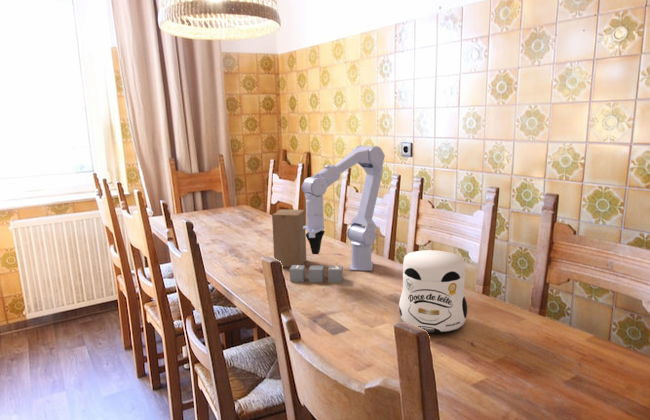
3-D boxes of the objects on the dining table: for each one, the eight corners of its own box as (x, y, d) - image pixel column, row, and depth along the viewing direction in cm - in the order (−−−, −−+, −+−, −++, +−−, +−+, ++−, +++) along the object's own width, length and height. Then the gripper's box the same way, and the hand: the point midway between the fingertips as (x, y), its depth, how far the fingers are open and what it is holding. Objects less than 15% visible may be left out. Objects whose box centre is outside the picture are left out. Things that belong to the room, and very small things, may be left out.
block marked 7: (329, 278, 157) (329, 265, 156) (342, 278, 157) (342, 265, 156) (328, 282, 153) (327, 269, 152) (341, 283, 152) (341, 269, 151)
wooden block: (300, 268, 168) (298, 215, 164) (274, 267, 170) (271, 214, 166) (306, 260, 177) (305, 209, 173) (281, 259, 179) (279, 209, 175)
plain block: (311, 277, 158) (310, 265, 157) (324, 278, 157) (323, 265, 156) (309, 282, 154) (308, 269, 153) (322, 282, 153) (321, 269, 152)
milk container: (418, 344, 110) (419, 272, 107) (388, 315, 126) (388, 252, 123) (480, 333, 115) (483, 264, 111) (444, 306, 131) (445, 246, 128)
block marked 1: (292, 277, 159) (292, 264, 158) (305, 277, 158) (305, 264, 157) (290, 281, 154) (289, 268, 154) (303, 282, 154) (302, 268, 153)
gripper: (306, 209, 158) (307, 247, 161) (298, 218, 144) (300, 259, 147) (326, 209, 158) (327, 247, 160) (320, 218, 143) (321, 259, 146)
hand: (315, 253), depth 154 cm, fingers closed
